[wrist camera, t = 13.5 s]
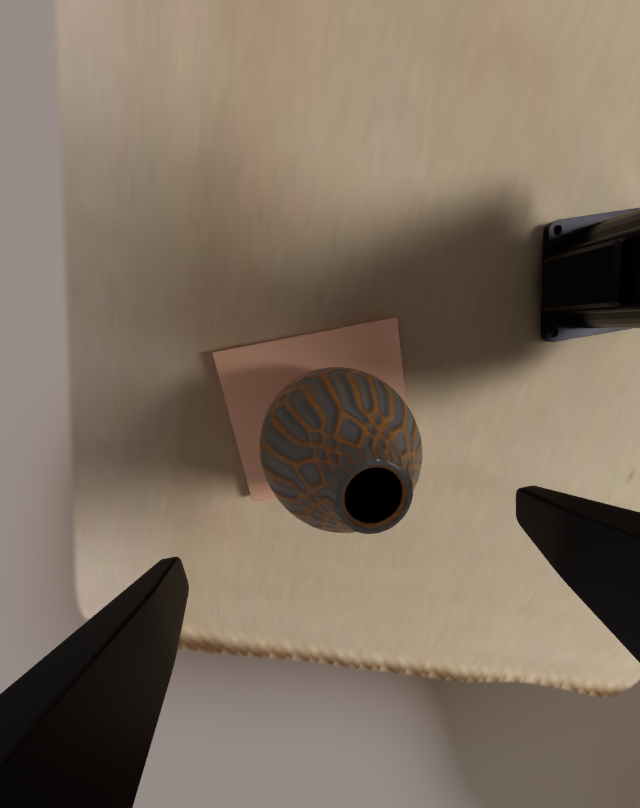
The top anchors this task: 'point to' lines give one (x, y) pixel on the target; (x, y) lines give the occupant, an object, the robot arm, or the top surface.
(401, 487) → the vase
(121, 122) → the top surface
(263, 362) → the tile
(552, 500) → the robot arm
